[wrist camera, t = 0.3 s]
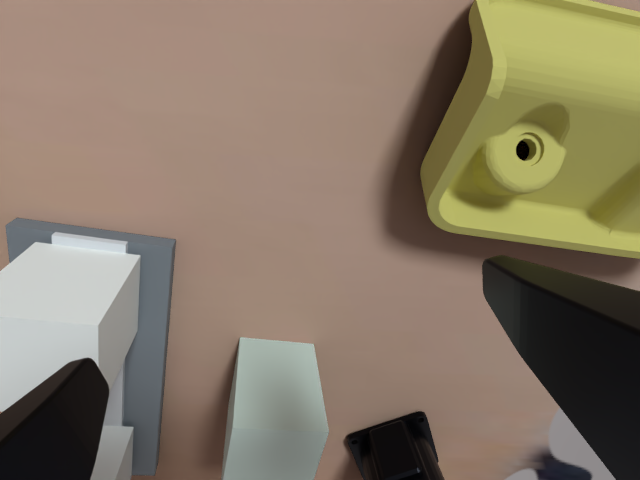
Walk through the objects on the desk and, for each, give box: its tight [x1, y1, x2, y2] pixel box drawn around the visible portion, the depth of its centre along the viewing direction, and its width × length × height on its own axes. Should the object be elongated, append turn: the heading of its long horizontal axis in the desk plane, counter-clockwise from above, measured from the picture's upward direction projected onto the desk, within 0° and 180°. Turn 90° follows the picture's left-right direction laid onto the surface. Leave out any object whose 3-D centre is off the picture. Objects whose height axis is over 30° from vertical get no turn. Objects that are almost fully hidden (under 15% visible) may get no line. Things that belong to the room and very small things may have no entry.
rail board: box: [0, 218, 176, 480], centre depth 22 cm, size 19×8×7 cm, turn 168°
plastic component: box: [420, 0, 640, 259], centre depth 21 cm, size 20×7×10 cm
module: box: [221, 337, 329, 480], centre depth 24 cm, size 6×5×7 cm
